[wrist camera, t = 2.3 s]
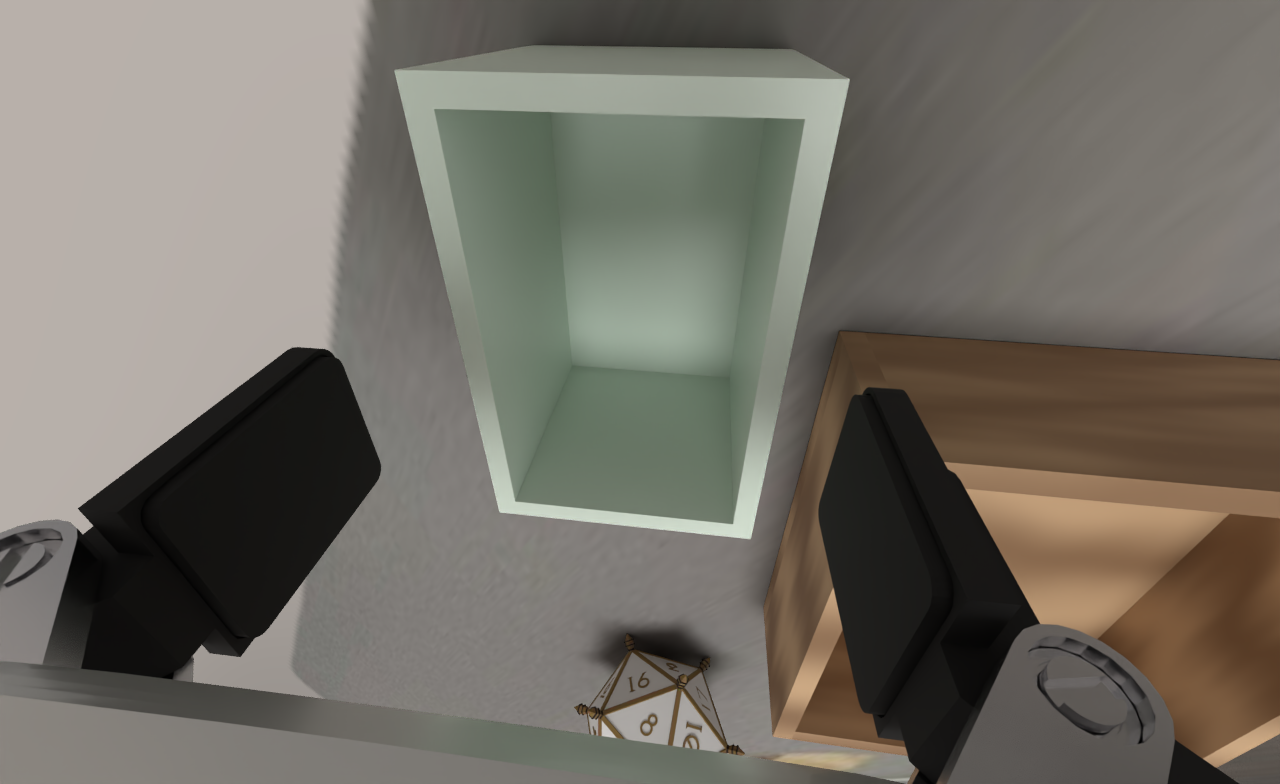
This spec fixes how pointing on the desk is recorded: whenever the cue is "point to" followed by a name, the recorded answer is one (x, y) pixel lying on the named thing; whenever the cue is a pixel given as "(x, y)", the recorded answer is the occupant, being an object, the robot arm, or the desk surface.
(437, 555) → the desk surface
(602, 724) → the game die
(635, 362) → the box
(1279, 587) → the big crate
